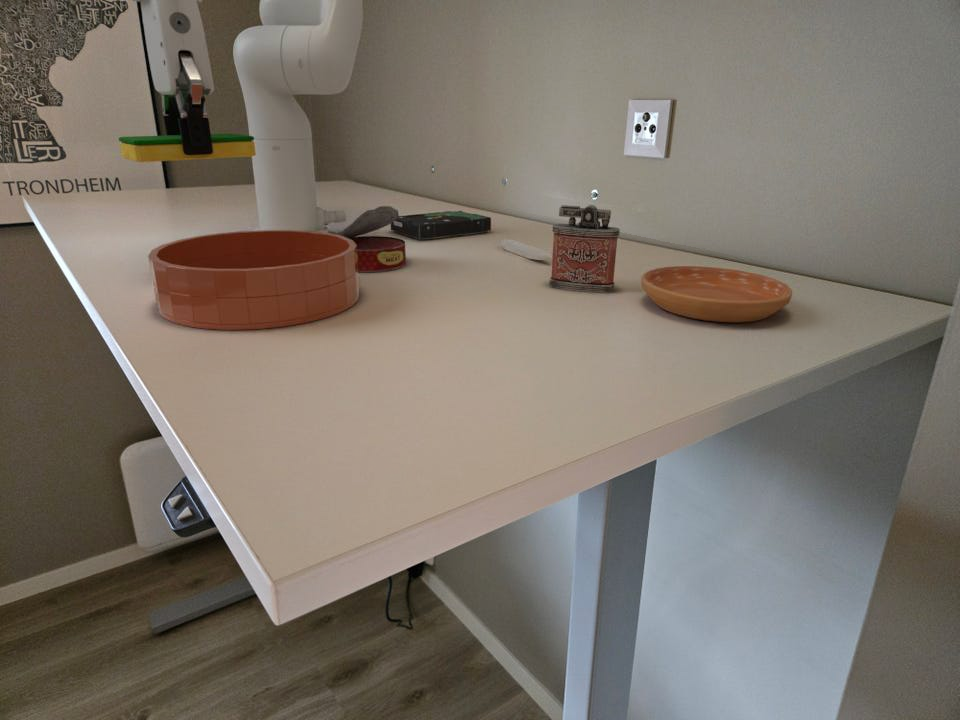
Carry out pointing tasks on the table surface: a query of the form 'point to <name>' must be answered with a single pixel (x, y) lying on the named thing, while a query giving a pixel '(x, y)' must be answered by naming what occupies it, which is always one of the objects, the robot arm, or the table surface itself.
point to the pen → (525, 250)
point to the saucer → (715, 293)
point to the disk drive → (441, 224)
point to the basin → (254, 278)
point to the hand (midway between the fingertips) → (190, 150)
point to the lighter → (584, 250)
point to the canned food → (376, 241)
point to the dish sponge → (173, 149)
